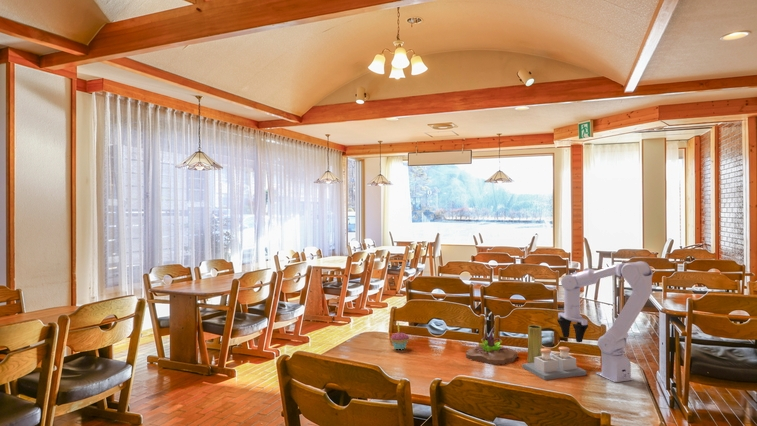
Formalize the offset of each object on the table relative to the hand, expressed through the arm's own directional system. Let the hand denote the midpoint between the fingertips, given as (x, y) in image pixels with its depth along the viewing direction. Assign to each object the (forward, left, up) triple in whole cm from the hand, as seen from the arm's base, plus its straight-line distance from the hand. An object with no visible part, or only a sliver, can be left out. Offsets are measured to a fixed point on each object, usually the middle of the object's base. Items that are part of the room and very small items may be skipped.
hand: (572, 339), depth 181 cm
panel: (-3, +11, -10) cm, 16 cm away
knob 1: (-4, +15, -6) cm, 17 cm away
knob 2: (-4, +7, -6) cm, 10 cm away
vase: (+9, +11, -11) cm, 18 cm away
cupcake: (+42, +58, -11) cm, 72 cm away
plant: (+20, +24, -11) cm, 33 cm away
